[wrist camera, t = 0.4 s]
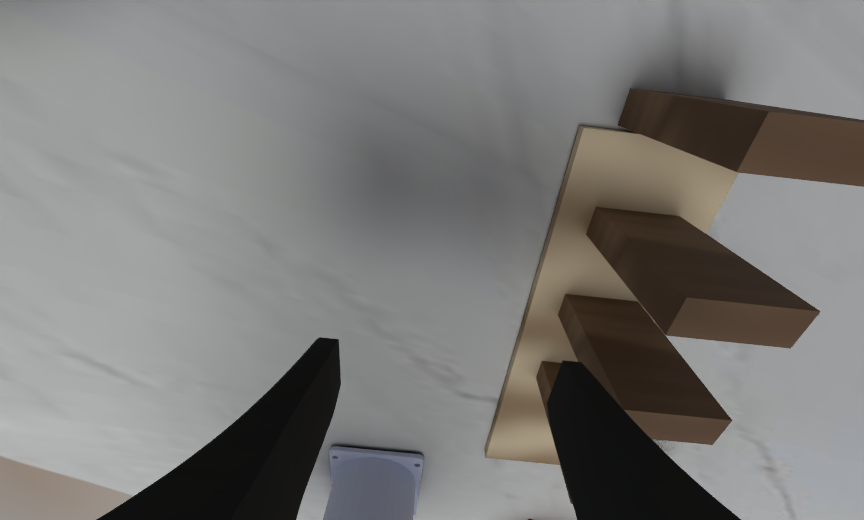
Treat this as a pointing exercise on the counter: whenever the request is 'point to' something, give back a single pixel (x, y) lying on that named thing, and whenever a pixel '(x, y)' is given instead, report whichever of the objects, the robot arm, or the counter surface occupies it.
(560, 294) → the light wooden board
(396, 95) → the counter surface
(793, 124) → the domino
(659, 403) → the domino
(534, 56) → the counter surface
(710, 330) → the domino
